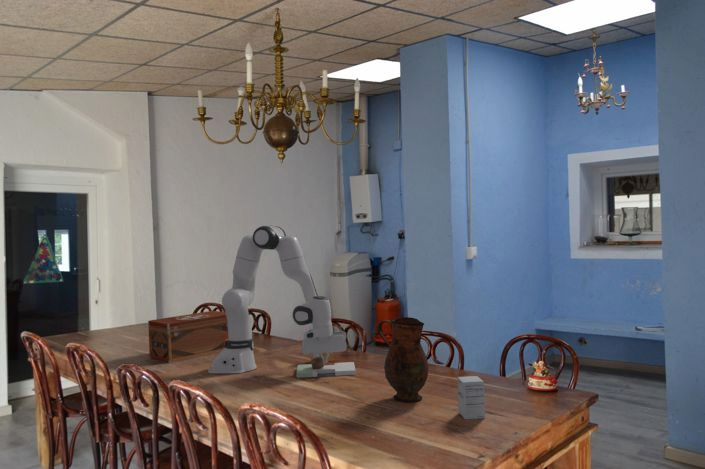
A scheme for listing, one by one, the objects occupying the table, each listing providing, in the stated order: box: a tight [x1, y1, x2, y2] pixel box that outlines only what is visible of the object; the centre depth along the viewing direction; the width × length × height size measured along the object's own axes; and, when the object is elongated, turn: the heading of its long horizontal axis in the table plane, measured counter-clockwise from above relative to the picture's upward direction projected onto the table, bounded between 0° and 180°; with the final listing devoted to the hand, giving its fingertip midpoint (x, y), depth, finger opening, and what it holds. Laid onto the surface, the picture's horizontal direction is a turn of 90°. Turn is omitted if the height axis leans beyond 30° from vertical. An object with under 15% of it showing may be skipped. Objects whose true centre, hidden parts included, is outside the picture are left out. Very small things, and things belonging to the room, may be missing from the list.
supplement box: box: [457, 375, 486, 420], centre depth 205 cm, size 7×7×13 cm
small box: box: [313, 352, 335, 363], centre depth 295 cm, size 8×6×13 cm
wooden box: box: [147, 310, 228, 364], centre depth 324 cm, size 20×41×20 cm, turn 137°
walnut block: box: [310, 356, 325, 369], centre depth 273 cm, size 5×5×4 cm
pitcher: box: [377, 316, 429, 403], centre depth 229 cm, size 17×21×30 cm
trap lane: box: [296, 361, 357, 379], centre depth 273 cm, size 26×16×2 cm, turn 93°
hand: (325, 362), depth 273 cm, fingers closed
